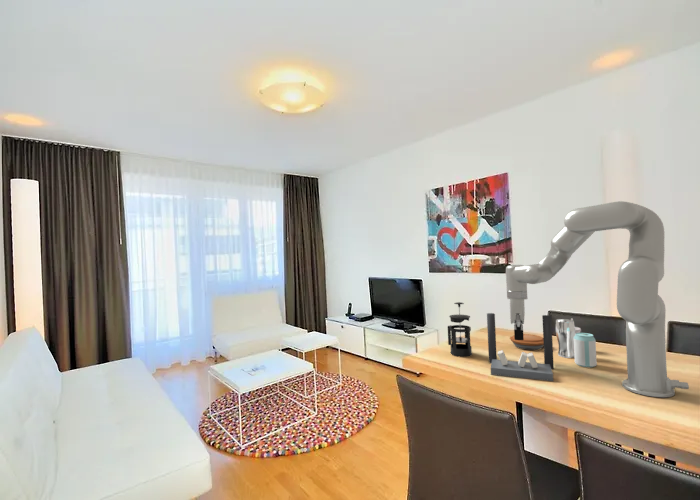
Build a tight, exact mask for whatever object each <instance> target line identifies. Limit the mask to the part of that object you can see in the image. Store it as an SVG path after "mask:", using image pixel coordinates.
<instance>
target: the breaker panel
mask: <svg viewBox="0 0 700 500" xmlns="http://www.w3.org/2000/svg"><path fill="white" fill-rule="evenodd" d="M507 361H508V364H507V365H502V363H501V361H500V359H498V358H497V359H492V363H490V364H491V365H490V375H491V376H492V375H493V376H501V377H509V378H518V379H519V378H520V379H529V380H538V381H539V380H540V381H546V382H548V381H549V382H554V373H553V371H552V370H553V369H551V366H550V364H545V363H541V362H540V363H539V362H537V365H538V367H537V368H532V366H531V363H530V361H526V362H525V365H524V368H523V367H521V366H519V365H518V361H519V360H518V361H517V360H508V359H507Z"/></svg>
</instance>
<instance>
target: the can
mask: <svg viewBox="0 0 700 500" xmlns="http://www.w3.org/2000/svg"><path fill="white" fill-rule="evenodd" d="M596 342H597V341H596V338H595V337H594V334H592V333H590V332H589V333H587V332H580V333H576V335H575V336H574V363H575V364H576V365H577V366H579V367H583V368H588V369H589V368H590V369H591V368H594V367H596V366H598V365H597V364H598V363H597V343H596Z"/></svg>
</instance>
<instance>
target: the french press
mask: <svg viewBox="0 0 700 500" xmlns="http://www.w3.org/2000/svg"><path fill="white" fill-rule="evenodd" d="M464 304H465V302H460V301H458V302H454V305H457V307H458V314H451V315H449V316H448V317H449V318H450V322H451V323H458V324H454V325H447V340H448V342H447V344H448V346H450V353H451V354H452V356H454V357H458V356H460V358H464V357H465V358H466V357H467V358H469V357H471V356H472V355H473V351H472V349H473V348H472V347H473V346H472V345H471V329H472V328H471V326H468V325H464V324H461V323H462V322H464V321H468V322H469V321H470V318H471V316H470V315H467V314H461V305H464ZM457 333H459V337H457ZM462 333H464V336H463V337H462ZM451 354H450V355H451Z"/></svg>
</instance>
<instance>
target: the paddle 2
mask: <svg viewBox="0 0 700 500" xmlns="http://www.w3.org/2000/svg"><path fill="white" fill-rule="evenodd" d="M526 353H527V352H526ZM527 356H528V357H527V359H528V362H530V363H531V366H532V368H537V367H538V365H537V363H538V362H537V360H536V358H535V356H534V353H533V352H528V353H527Z"/></svg>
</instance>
